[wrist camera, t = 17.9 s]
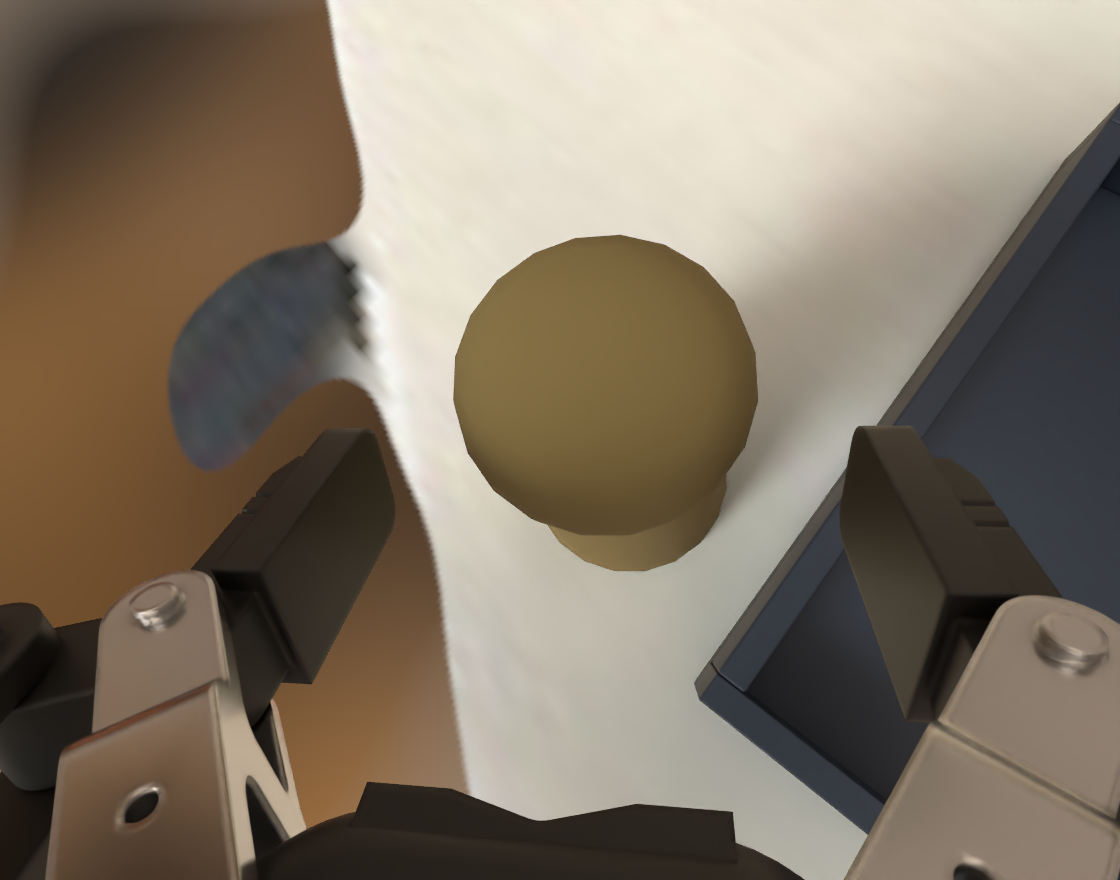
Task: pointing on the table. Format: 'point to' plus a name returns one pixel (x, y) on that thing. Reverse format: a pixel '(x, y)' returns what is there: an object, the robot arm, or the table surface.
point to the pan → (984, 450)
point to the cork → (608, 396)
